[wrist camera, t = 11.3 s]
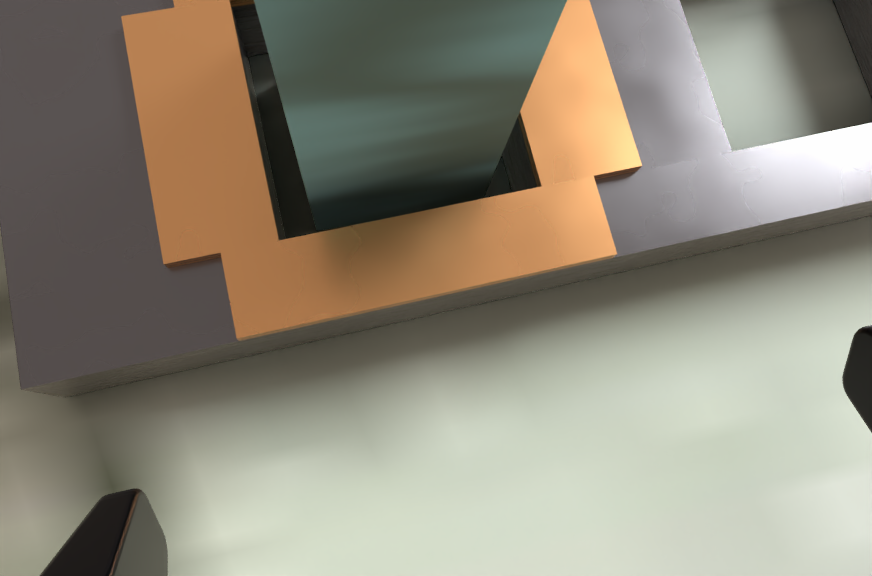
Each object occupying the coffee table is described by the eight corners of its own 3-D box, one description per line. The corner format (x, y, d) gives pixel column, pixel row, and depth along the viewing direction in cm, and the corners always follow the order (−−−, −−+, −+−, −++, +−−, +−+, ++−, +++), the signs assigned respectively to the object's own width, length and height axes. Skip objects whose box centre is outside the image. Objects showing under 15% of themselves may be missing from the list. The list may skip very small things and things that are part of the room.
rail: (960, -122, 21) (1031, -192, 18) (1091, 166, 19) (1187, 127, 17) (15, 29, 17) (-39, -34, 15) (65, 397, 15) (13, 388, 13)
